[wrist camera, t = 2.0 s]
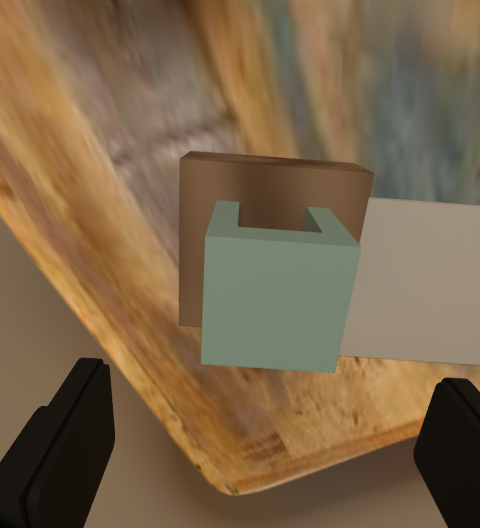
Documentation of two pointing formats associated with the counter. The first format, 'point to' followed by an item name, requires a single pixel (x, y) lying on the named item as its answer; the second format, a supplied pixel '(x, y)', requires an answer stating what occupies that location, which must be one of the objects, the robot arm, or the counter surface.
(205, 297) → the green notched block
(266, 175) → the brown square block
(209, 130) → the counter surface
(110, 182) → the counter surface
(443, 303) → the mat
